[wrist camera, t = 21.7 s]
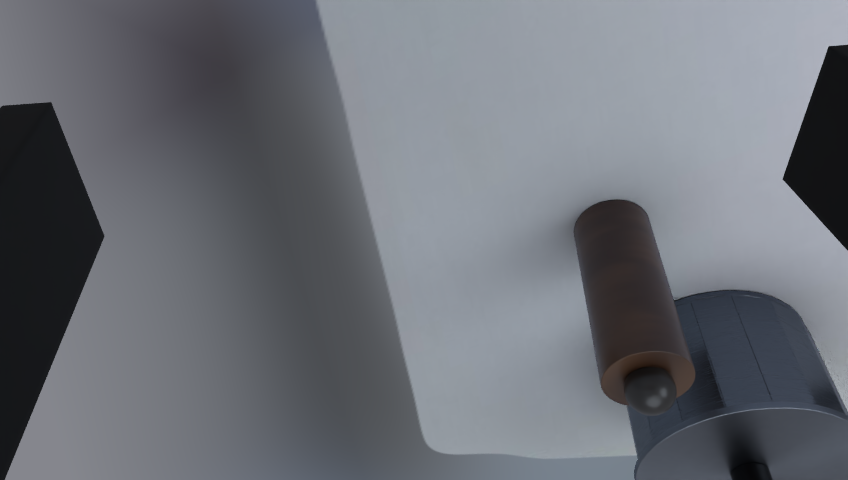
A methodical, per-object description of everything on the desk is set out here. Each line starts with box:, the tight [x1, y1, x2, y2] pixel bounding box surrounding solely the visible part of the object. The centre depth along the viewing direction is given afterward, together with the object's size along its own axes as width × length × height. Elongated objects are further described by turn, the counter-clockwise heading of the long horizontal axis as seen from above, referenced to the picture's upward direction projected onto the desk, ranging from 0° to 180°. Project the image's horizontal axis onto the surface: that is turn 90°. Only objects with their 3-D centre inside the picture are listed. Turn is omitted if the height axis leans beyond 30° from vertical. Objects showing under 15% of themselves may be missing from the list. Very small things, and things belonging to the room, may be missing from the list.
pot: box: [627, 290, 848, 458], centre depth 50 cm, size 14×14×10 cm
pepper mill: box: [574, 200, 695, 416], centre depth 40 cm, size 5×5×14 cm
